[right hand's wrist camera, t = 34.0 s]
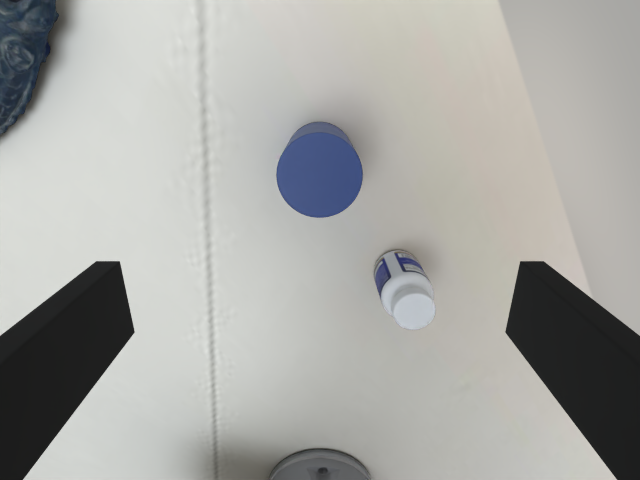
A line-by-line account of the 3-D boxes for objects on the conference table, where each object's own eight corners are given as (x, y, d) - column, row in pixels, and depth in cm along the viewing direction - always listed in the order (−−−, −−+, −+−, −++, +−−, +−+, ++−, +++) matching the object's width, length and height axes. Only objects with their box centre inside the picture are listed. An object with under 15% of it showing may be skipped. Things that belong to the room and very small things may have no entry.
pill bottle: (385, 297, 45) (400, 344, 37) (365, 262, 44) (375, 303, 35) (427, 277, 44) (451, 321, 36) (407, 241, 43) (428, 277, 34)
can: (278, 177, 40) (266, 203, 31) (297, 112, 38) (290, 119, 29) (339, 197, 41) (345, 228, 32) (362, 134, 39) (375, 149, 30)
